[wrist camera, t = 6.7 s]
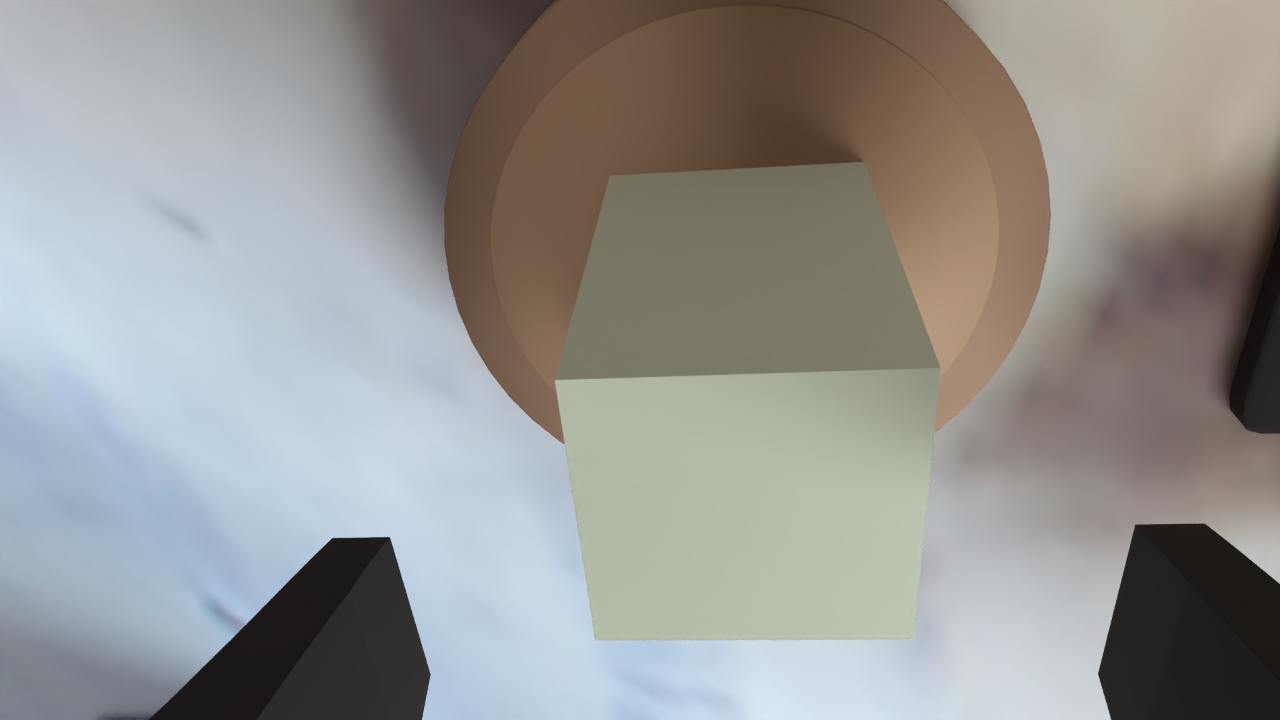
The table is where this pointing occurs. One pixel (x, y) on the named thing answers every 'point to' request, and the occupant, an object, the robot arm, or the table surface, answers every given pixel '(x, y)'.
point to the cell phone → (1261, 359)
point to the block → (748, 410)
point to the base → (747, 160)
